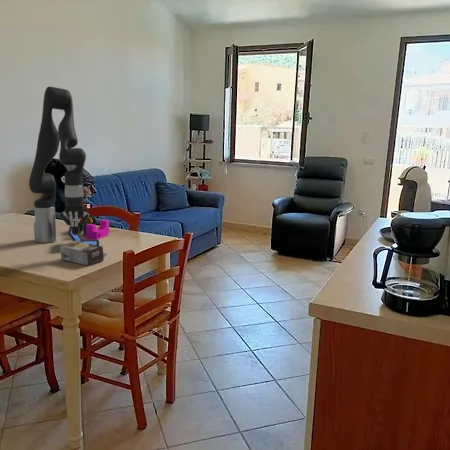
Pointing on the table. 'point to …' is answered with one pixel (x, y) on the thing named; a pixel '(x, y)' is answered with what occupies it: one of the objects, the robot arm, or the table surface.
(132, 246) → the table surface
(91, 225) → the toy block
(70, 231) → the game console
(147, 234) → the table surface
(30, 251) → the table surface
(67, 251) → the coffee box
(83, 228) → the doll family
